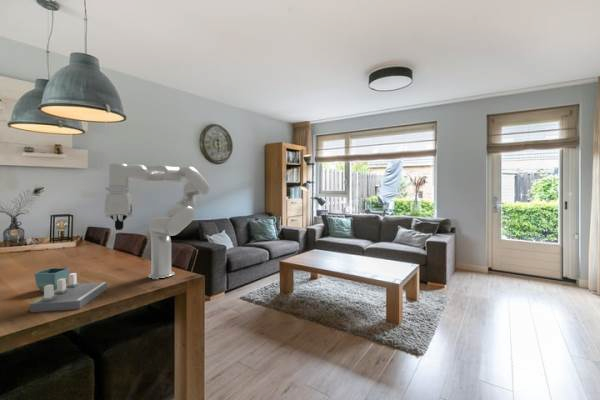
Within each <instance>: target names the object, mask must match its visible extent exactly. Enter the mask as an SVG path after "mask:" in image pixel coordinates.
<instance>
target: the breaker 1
mask: <svg viewBox="0 0 600 400" xmlns="http://www.w3.org/2000/svg"><path fill="white" fill-rule="evenodd" d="M43 297H44V298H42V297H41V298H42V299H41V301H50V300H52V299H54V298H56V295H54V284H53V285H47V286H44V292H43Z"/></svg>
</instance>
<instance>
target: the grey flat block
mask: <svg viewBox="0 0 600 400" xmlns="http://www.w3.org/2000/svg"><path fill="white" fill-rule="evenodd" d="M68 284H69V283H66V288H68V291H66V292H64V293H58V294H55V291H57V290H55V291H54V295H56V298H54V299H52V300H50V301H41V299H42V298H44V296H42V297H40V298H38V299H36V300H35V301H33V302H32V303H30V304H29V306H30V307H29V308H30V309H29V312H30V313H38V312H39V313H40V312H51V311H54V312H55V311H64V310H65V311H68V310H69V311H70V310H80V309H82V308H83V307H84V306H86V304H88V303H89V302H91V301H92V300H94V299H95V298H96V297H98V296H99V295H101V294H102V293H103V292H104V291H106V290H107V289H108V282H106V281H105V282H104V281H102V282H88V283H87V282H85V283H79V284H78V285H77V286H75V287H67V285H68Z"/></svg>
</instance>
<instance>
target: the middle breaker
mask: <svg viewBox="0 0 600 400" xmlns="http://www.w3.org/2000/svg"><path fill="white" fill-rule="evenodd" d="M66 285H67V282H66V278H63V279H59V280H57V291H55V294H58V293H64V292H66V291H68V288H66Z"/></svg>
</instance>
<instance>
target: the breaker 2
mask: <svg viewBox="0 0 600 400" xmlns="http://www.w3.org/2000/svg"><path fill="white" fill-rule="evenodd" d="M77 275H78V273H77V272H72V273H69V274H68V283H67V284H68V285H67V284H66V285H67V287H75V286H77V285H78V284H80V282H78V279H77V278H78V276H77Z"/></svg>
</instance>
